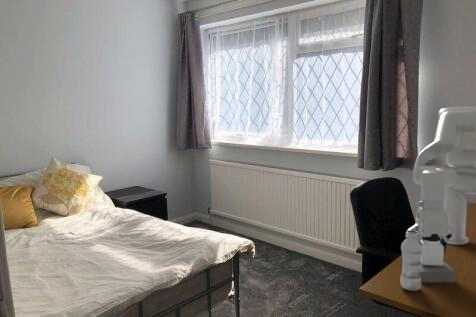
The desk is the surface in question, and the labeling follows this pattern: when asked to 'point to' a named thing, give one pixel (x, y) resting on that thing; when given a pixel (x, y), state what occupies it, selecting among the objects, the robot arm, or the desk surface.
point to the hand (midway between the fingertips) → (430, 251)
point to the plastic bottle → (411, 262)
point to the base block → (437, 273)
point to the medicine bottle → (432, 251)
